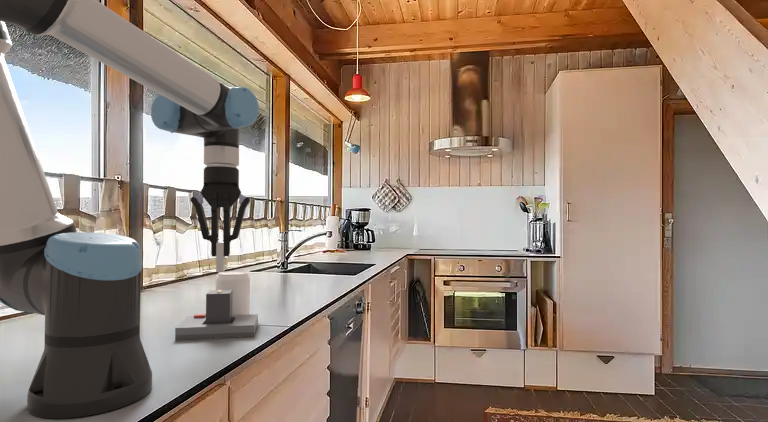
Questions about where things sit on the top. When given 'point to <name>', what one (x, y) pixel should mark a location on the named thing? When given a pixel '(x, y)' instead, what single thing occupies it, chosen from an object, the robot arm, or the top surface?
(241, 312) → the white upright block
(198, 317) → the socket faceplate
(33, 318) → the top surface
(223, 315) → the dark grey upright block
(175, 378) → the top surface
